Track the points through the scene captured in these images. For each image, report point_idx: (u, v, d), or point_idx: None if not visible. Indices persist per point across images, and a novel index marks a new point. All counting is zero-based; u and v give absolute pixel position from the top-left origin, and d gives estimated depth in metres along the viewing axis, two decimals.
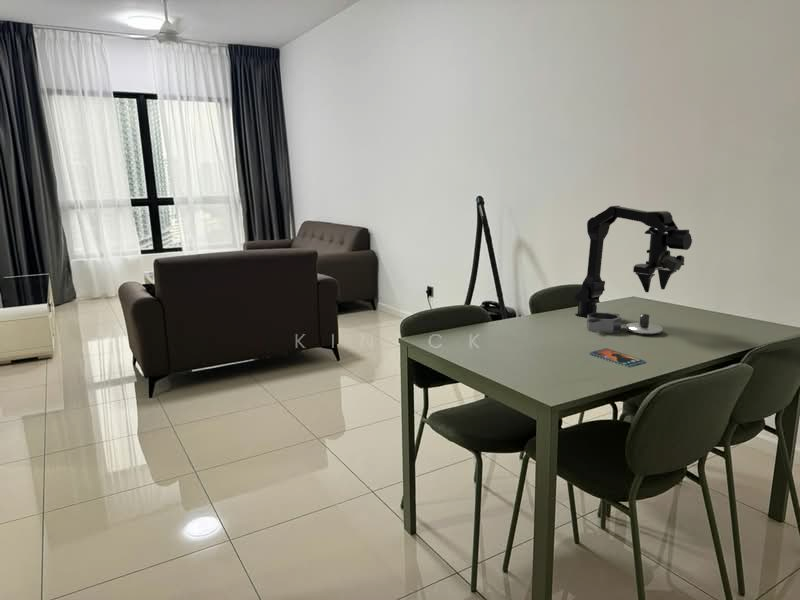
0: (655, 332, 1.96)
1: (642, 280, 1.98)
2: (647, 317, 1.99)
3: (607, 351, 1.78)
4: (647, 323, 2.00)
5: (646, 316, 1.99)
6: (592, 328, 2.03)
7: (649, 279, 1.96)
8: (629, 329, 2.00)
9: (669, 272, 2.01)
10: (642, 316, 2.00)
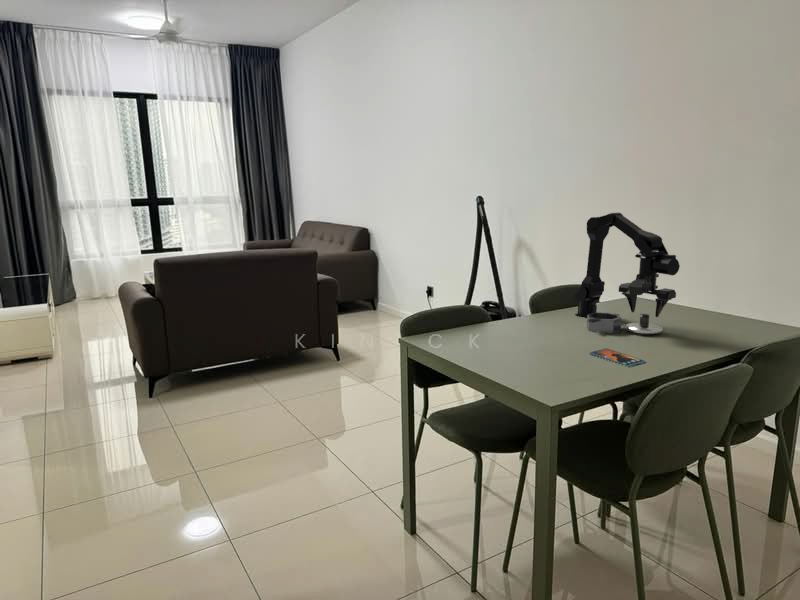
0: (655, 332, 1.96)
1: None
2: (647, 317, 1.99)
3: (607, 351, 1.78)
4: (647, 323, 2.00)
5: (646, 316, 1.99)
6: (592, 328, 2.03)
7: (628, 298, 2.03)
8: (629, 329, 2.00)
9: None
10: (642, 316, 2.00)
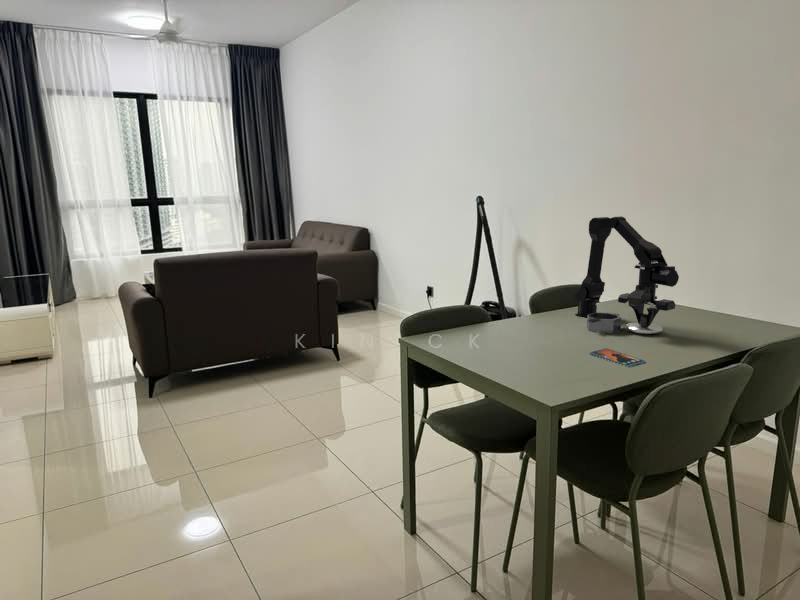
0: (655, 332, 1.96)
1: None
2: (647, 317, 1.99)
3: (607, 351, 1.78)
4: None
5: (646, 316, 1.99)
6: (592, 328, 2.03)
7: (635, 310, 2.02)
8: (629, 329, 2.00)
9: None
10: (642, 316, 2.00)
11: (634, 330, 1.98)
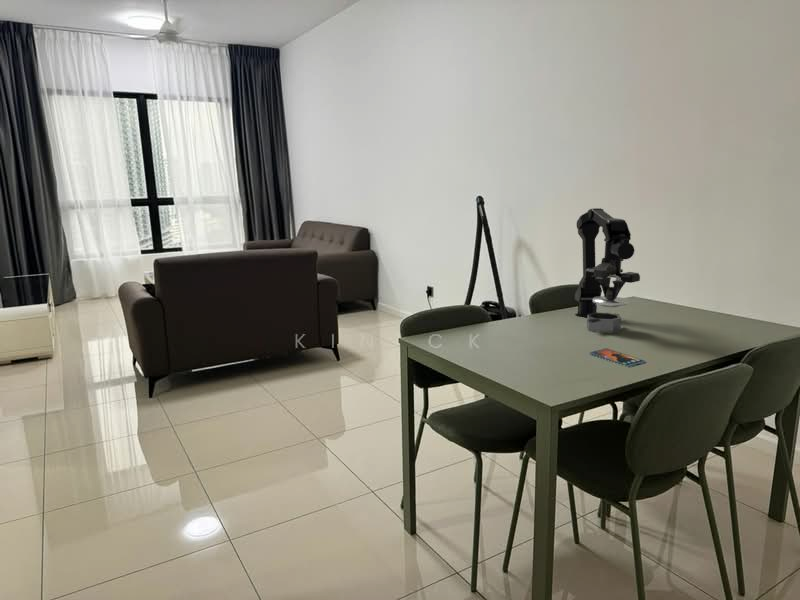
0: (620, 304, 1.98)
1: None
2: None
3: (607, 351, 1.78)
4: None
5: (612, 289, 2.01)
6: (592, 328, 2.03)
7: (601, 284, 2.03)
8: (595, 302, 2.02)
9: None
10: (608, 289, 2.01)
11: (600, 303, 2.00)
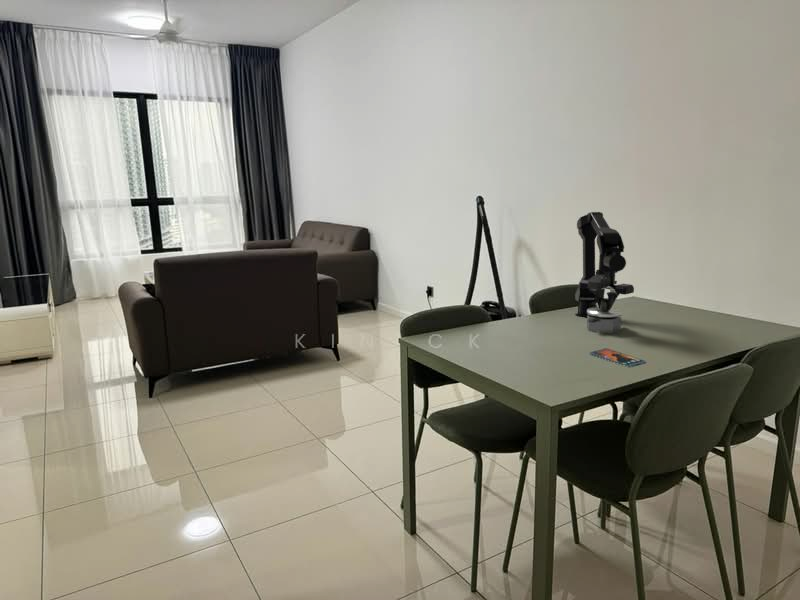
0: (615, 316, 1.99)
1: None
2: (607, 301, 2.02)
3: (607, 351, 1.78)
4: None
5: (606, 300, 2.02)
6: (592, 328, 2.03)
7: (596, 295, 2.05)
8: (590, 313, 2.03)
9: None
10: (602, 300, 2.03)
11: (594, 314, 2.01)
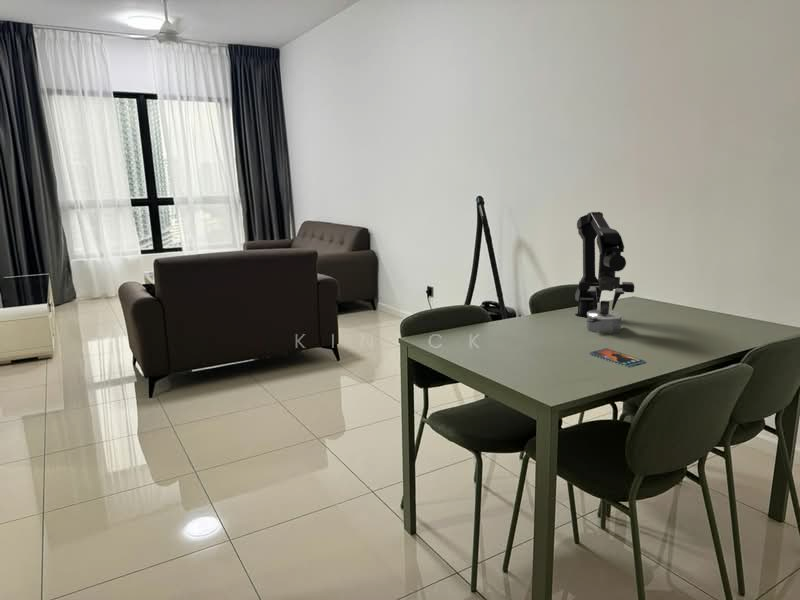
0: (620, 317, 2.01)
1: None
2: (608, 303, 2.03)
3: (607, 351, 1.78)
4: (608, 309, 2.04)
5: (608, 302, 2.03)
6: (592, 328, 2.03)
7: (593, 296, 2.03)
8: (598, 317, 2.00)
9: (615, 293, 2.00)
10: (605, 303, 2.02)
11: (604, 318, 1.99)
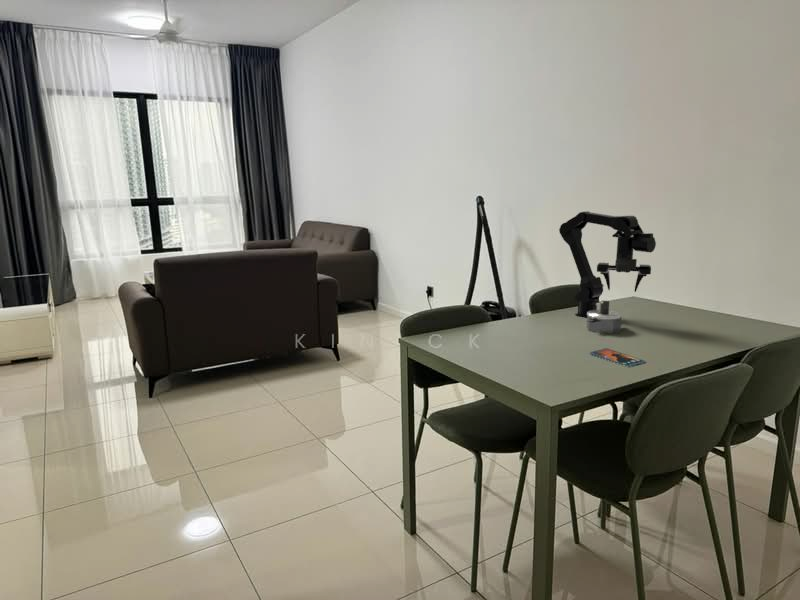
0: (620, 317, 2.01)
1: None
2: (608, 303, 2.03)
3: (607, 351, 1.78)
4: (608, 309, 2.04)
5: (608, 302, 2.03)
6: (592, 328, 2.03)
7: (606, 277, 2.12)
8: (598, 317, 2.00)
9: None
10: (605, 303, 2.02)
11: (604, 318, 1.99)
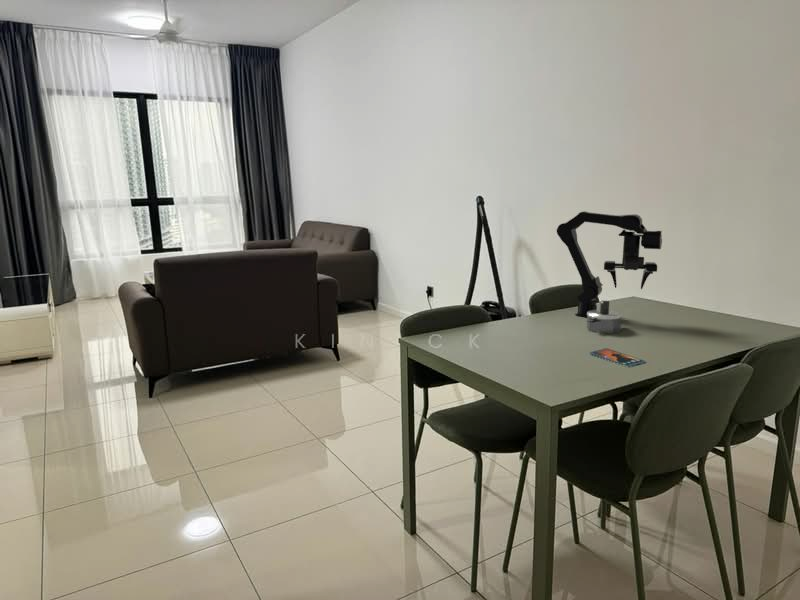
0: (620, 317, 2.01)
1: None
2: (608, 303, 2.03)
3: (607, 351, 1.78)
4: (608, 309, 2.04)
5: (608, 302, 2.03)
6: (592, 328, 2.03)
7: (613, 275, 2.16)
8: (598, 317, 2.00)
9: (644, 273, 2.12)
10: (605, 303, 2.02)
11: (604, 318, 1.99)
